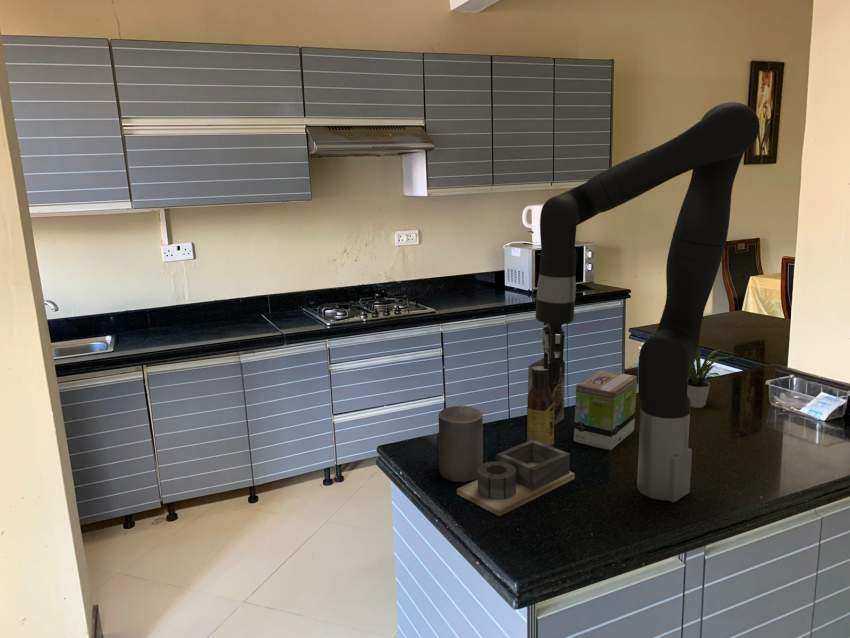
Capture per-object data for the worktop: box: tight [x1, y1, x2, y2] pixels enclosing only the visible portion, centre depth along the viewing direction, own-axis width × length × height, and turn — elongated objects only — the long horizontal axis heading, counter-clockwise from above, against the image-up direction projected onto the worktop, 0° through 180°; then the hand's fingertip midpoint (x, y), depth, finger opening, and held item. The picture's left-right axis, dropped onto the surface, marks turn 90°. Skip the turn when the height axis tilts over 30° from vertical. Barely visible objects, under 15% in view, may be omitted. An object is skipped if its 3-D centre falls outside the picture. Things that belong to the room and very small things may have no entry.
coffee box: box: [527, 357, 566, 426], centre depth 167 cm, size 9×6×16 cm
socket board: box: [456, 439, 576, 517], centre depth 134 cm, size 12×23×6 cm, turn 130°
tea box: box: [573, 369, 638, 451], centre depth 157 cm, size 15×10×15 cm, turn 143°
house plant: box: [687, 349, 729, 409], centre depth 176 cm, size 14×14×16 cm
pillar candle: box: [438, 405, 484, 483], centre depth 140 cm, size 10×10×15 cm
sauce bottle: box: [526, 366, 555, 447], centre depth 150 cm, size 6×6×20 cm
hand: (550, 375), depth 131 cm, fingers open, 8 cm apart
